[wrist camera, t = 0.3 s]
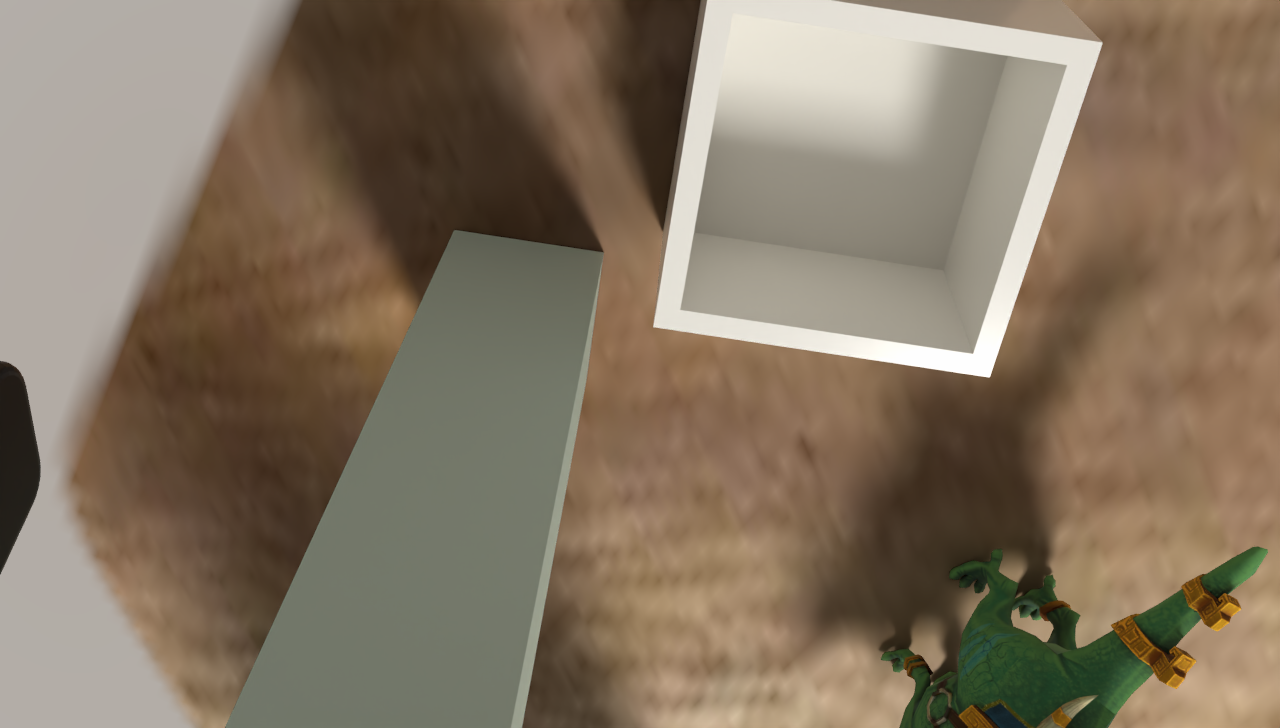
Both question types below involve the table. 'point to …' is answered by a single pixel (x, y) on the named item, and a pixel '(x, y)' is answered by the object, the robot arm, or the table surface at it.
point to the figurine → (1061, 654)
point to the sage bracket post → (443, 509)
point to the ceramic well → (868, 172)
